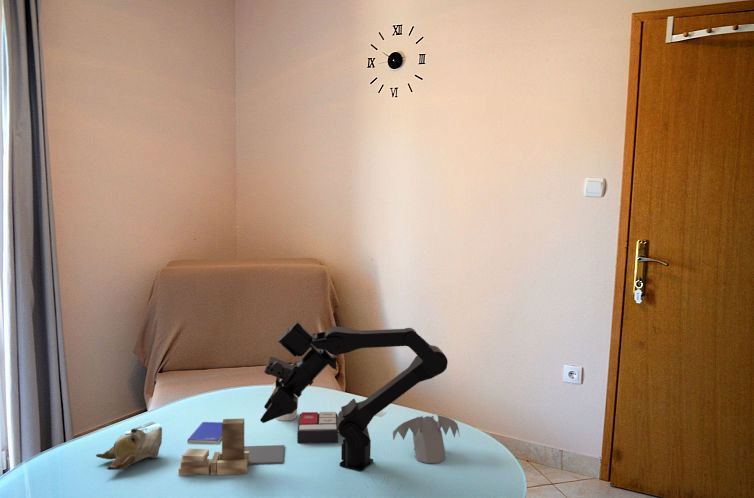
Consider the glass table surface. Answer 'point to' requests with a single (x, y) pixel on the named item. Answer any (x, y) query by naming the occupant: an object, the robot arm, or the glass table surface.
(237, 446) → the walnut block
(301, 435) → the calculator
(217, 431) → the hard drive
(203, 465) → the offcut stack
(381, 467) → the glass table surface
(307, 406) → the glass table surface
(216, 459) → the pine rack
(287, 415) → the white cup
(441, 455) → the figurine
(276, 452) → the charcoal mat
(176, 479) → the glass table surface
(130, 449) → the ceramic sculpture
